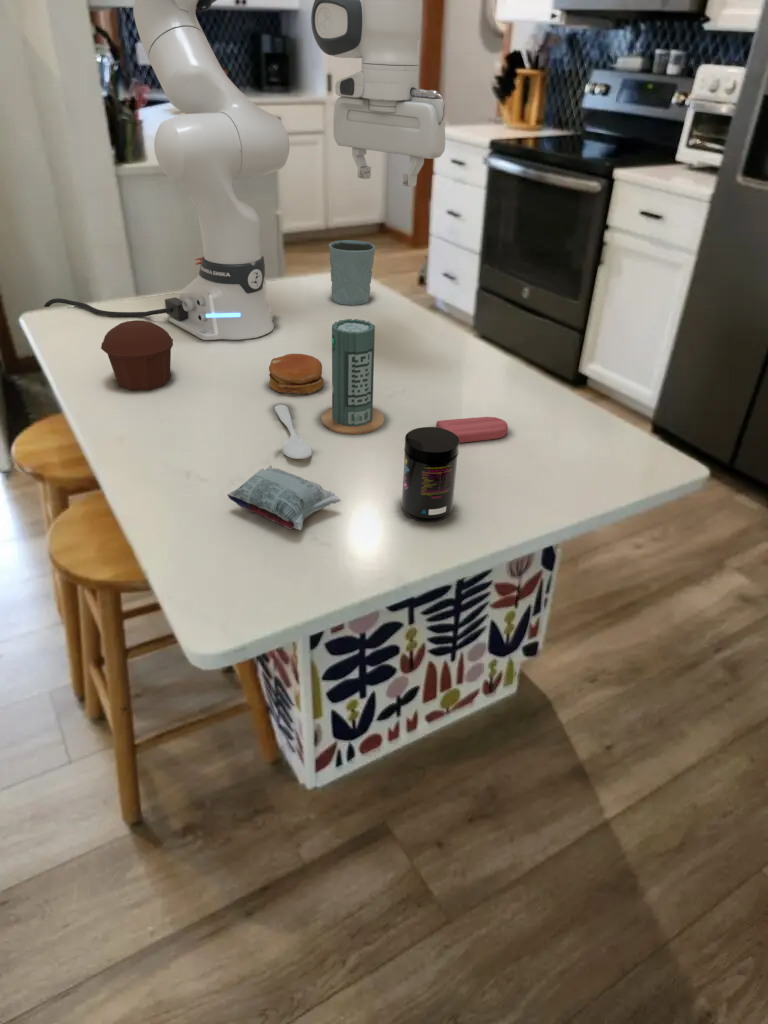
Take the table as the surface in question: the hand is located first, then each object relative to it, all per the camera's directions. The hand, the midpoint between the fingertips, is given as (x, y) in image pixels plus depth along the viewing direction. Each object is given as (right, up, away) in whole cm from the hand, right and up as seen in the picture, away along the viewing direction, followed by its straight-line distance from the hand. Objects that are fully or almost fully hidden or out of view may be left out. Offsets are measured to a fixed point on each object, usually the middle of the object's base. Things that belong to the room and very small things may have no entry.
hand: (386, 182), depth 123 cm
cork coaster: (-5, -40, -4) cm, 40 cm away
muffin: (-42, -32, +6) cm, 53 cm away
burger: (-16, -33, +6) cm, 37 cm away
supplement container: (+5, -54, -25) cm, 60 cm away
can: (-5, -40, -4) cm, 40 cm away
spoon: (-15, -43, -9) cm, 46 cm away
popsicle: (+12, -43, -7) cm, 45 cm away
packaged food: (-13, -55, -27) cm, 62 cm away
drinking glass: (-8, -6, +47) cm, 48 cm away
